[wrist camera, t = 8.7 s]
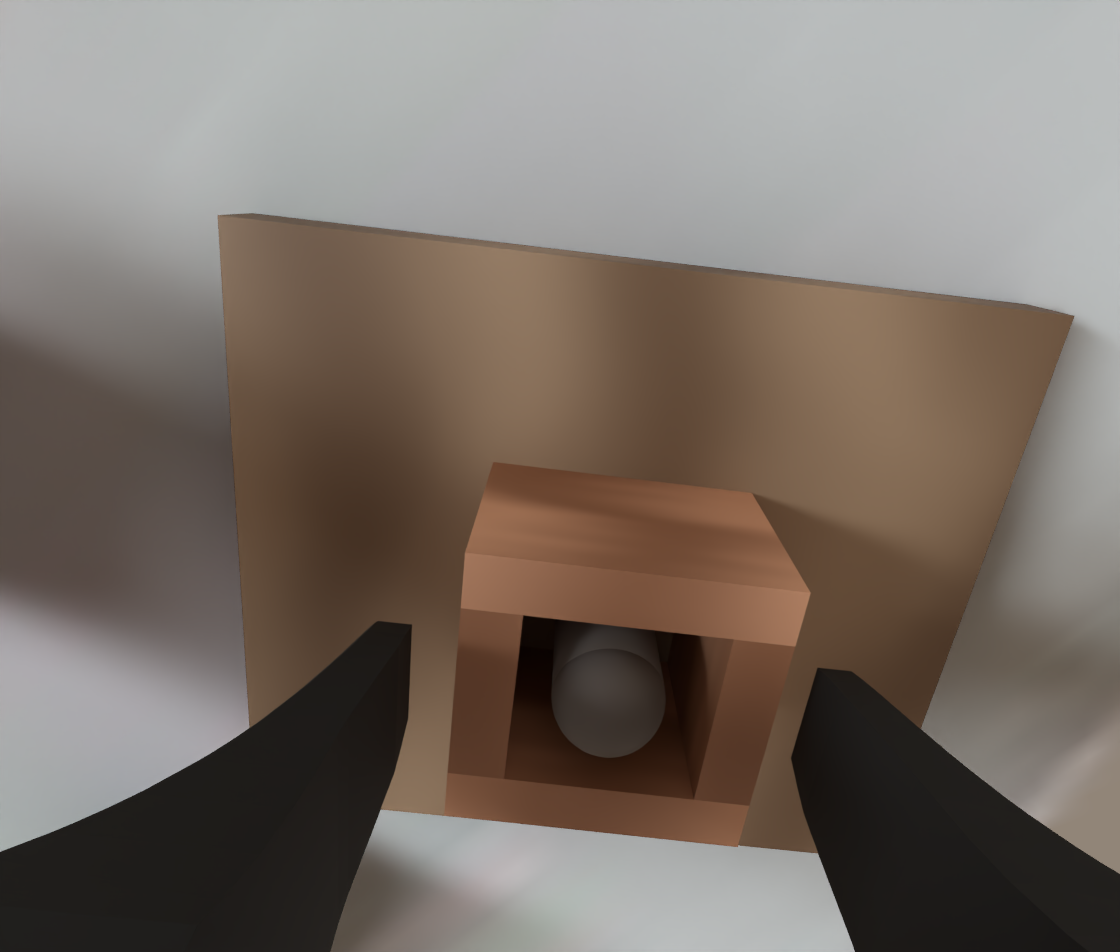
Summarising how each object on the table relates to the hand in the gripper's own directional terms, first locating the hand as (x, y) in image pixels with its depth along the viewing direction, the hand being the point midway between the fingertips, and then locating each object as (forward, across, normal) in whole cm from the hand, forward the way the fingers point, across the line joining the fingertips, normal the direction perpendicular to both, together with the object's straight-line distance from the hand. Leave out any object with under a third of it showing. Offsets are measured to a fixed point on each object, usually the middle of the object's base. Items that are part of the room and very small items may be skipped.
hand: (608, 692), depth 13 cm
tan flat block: (+5, 0, 0) cm, 5 cm away
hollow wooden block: (+3, 0, 0) cm, 3 cm away
